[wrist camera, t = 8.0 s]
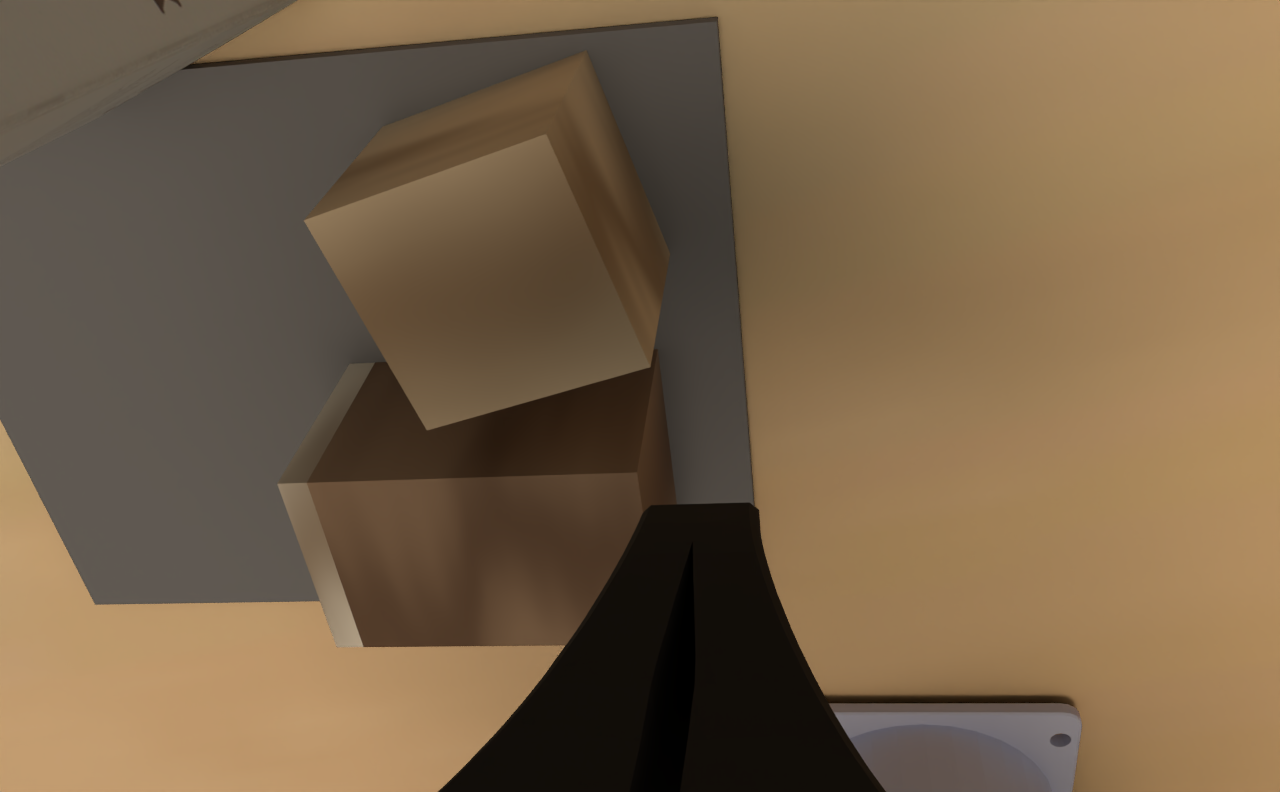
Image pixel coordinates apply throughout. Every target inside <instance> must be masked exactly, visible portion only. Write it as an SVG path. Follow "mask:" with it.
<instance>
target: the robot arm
mask: <svg viewBox="0 0 1280 792" xmlns="http://www.w3.org/2000/svg"><path fill="white" fill-rule="evenodd" d="M1081 730H1082V722H1081V718H1080V715H1079V711H1078V710H1077V709H1076V708H1075V707H1073V706H1071V705H1069V704H1063V703H828V701H827V700H826V698H825V696H824V694H823V692H822V691H821V689H820V687H819V685H818V683H817V681H816V679H815V677H814V675H813V673H812V671H811V669H810V667H809V665H808V663H807V661H806V659H805V657H804V655H803V653H802V651H801V649H800V647H799V645H798V643H797V640H796V638H795V636H794V634H793V631H792V629H791V627H790V624H789V622H788V619H787V617H786V614H785V612H784V609H783V607H782V604H781V602H780V599H779V597H778V594H777V592H776V589H775V586H774V583H773V580H772V577H771V574H770V570H769V567H768V564H767V560H766V557H765V553H764V549H763V545H762V540H761V533H760V519H759V510H758V509H757V508H756V507H755V506H753V505H752V504H751V503H749V502H746V503H709V504H672V505H651V506H649V507H648V508H647V509H646V510H645V511H644V512H643V514H642V516H641V518H640V520H639V523H638V525H637V527H636V529H635V531H634V533H633V535H632V537H631V539H630V541H629V543H628V545H627V547H626V549H625V551H624V553H623V555H622V556H621V558H620V560H619V562H618V564H617V565H616V567H615V569H614V571H613V572H612V574H611V576H610V578H609V579H608V581H607V583H606V584H605V586H604V588H603V589H602V591H601V593H600V594H599V596H598V597H597V599H596V601H595V602H594V604H593V605H592V607H591V609H590V610H589V612H588V613H587V615H586V617H585V618H584V620H583V621H582V623H581V624H580V626H579V627H578V629H577V630H576V632H575V633H574V635H573V636H572V637H571V639H570V640H569V642H568V643H567V644H566V646H565V647H564V649H563V650H562V651H561V653H560V654H559V656H558V657H557V658H556V660H555V661H554V663H553V664H552V665H551V667H550V668H549V670H548V671H547V672H546V674H545V675H544V676H543V678H542V679H541V680H540V681H539V683H538V684H537V685H536V686H535V688H534V689H533V690H532V692H531V693H530V694H529V695H528V696H527V698H526V699H525V700H524V701H523V703H522V704H521V705H520V706H519V707H518V709H517V710H516V711H515V712H514V713H513V714H512V715H511V717H510V718H509V719H508V720H507V721H506V722H505V724H504V725H503V726H502V727H501V728H500V729H499V730H498V731H497V733H496V734H495V735H494V736H493V737H492V738H491V739H490V740H489V741H488V742H487V743H486V744H485V745H484V746H483V747H482V748H481V749H480V750H479V752H478V753H477V754H476V755H475V756H474V757H473V758H472V759H471V760H470V761H469V762H468V763H467V764H466V765H465V766H464V767H463V768H462V769H461V770H460V771H459V772H458V773H457V774H456V775H455V776H454V777H453V778H452V779H451V780H450V781H449V782H448V783H447V784H446V785H445V786H444V787H443V788H442V789H440V790H439V791H438V792H1072V791H1073V784H1074V778H1075V771H1076V764H1077V757H1078V750H1079V743H1080V737H1081ZM1060 733H1063V734H1060ZM1055 734H1059V735H1055Z"/></svg>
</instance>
